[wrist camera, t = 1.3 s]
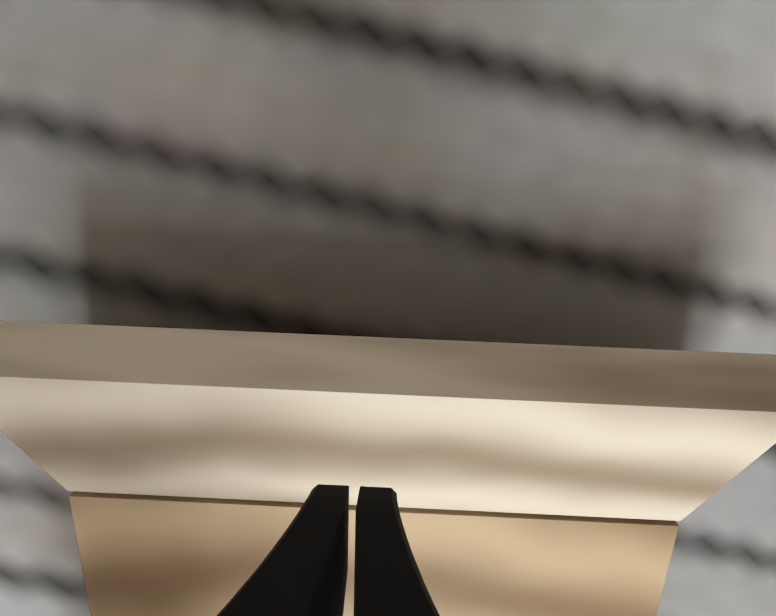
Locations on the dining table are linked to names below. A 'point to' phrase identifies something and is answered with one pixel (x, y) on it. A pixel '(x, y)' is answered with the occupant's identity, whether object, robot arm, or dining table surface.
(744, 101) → the dining table surface
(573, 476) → the maple plank
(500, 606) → the board
